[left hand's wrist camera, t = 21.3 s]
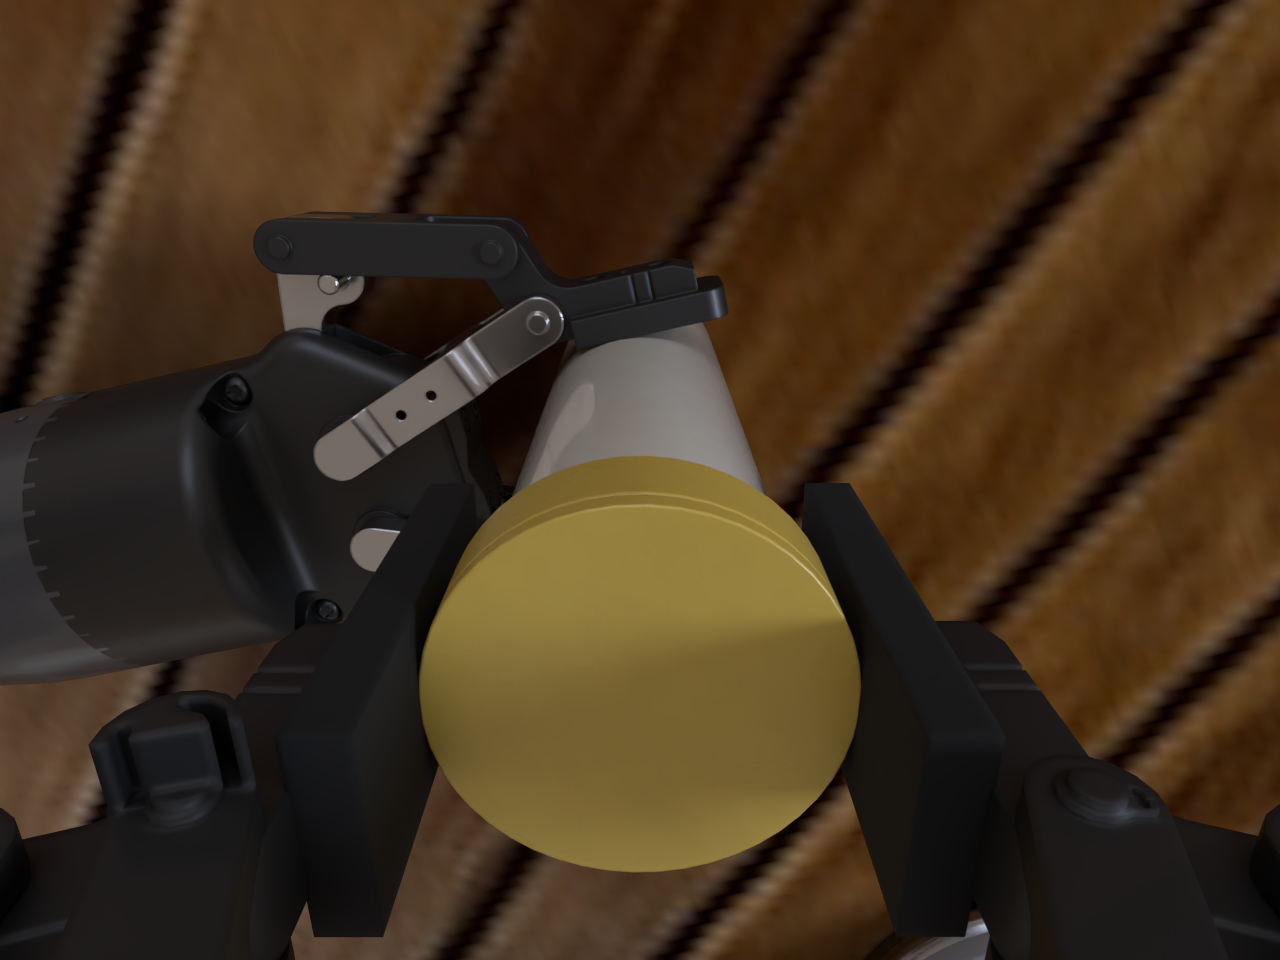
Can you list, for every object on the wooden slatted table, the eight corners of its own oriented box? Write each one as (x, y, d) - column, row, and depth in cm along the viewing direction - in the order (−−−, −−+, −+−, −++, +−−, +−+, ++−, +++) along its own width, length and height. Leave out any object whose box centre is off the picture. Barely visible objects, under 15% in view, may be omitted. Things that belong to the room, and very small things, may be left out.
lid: (725, 831, 14) (736, 921, 12) (395, 713, 13) (359, 794, 11) (906, 549, 12) (949, 612, 10) (531, 387, 11) (513, 428, 9)
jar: (670, 456, 29) (708, 838, 13) (541, 394, 28) (412, 721, 12) (740, 331, 27) (881, 592, 11) (605, 261, 26) (555, 438, 10)
